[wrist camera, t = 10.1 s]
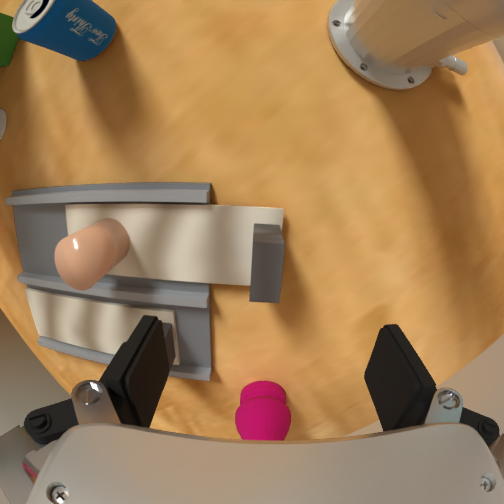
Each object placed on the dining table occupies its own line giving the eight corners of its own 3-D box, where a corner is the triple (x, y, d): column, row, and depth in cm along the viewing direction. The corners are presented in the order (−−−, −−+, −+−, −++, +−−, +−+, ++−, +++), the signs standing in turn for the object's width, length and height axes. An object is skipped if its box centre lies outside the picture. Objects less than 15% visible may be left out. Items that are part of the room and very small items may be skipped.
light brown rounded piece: (128, 218, 27) (93, 237, 20) (131, 264, 28) (101, 293, 22) (89, 217, 27) (50, 236, 20) (94, 260, 28) (60, 287, 22)
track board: (210, 182, 27) (206, 185, 25) (212, 372, 35) (209, 384, 33) (15, 190, 27) (4, 193, 25) (47, 340, 35) (40, 348, 33)
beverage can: (97, 68, 23) (29, 42, 11) (65, 55, 22) (0, 33, 10) (129, 22, 21) (75, -23, 9) (94, 12, 20) (39, -24, 8)
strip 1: (283, 208, 27) (290, 224, 21) (276, 284, 29) (280, 318, 23) (68, 203, 27) (31, 217, 21) (75, 268, 30) (45, 292, 23)
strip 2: (174, 310, 31) (157, 344, 25) (180, 362, 33) (167, 399, 27) (27, 287, 31) (-1, 308, 25) (41, 333, 33) (18, 356, 27)
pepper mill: (271, 370, 34) (277, 512, 16) (297, 398, 36) (311, 523, 17) (226, 389, 36) (210, 519, 17) (255, 415, 38) (252, 532, 19)
